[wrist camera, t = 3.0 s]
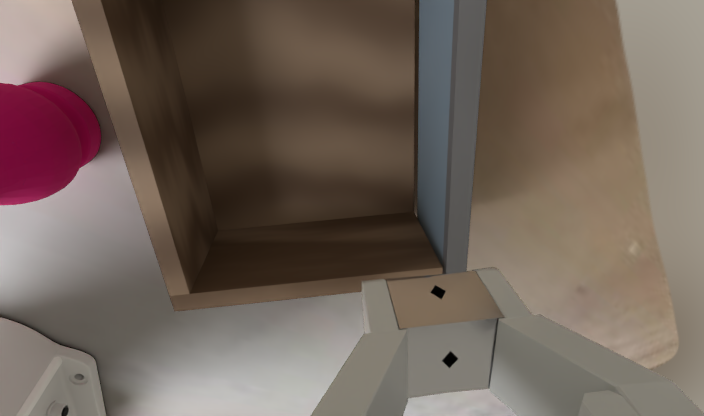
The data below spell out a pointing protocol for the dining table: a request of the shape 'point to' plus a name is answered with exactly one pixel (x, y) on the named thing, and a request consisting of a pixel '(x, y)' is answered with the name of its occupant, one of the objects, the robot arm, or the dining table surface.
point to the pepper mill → (42, 140)
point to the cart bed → (265, 141)
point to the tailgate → (448, 122)
